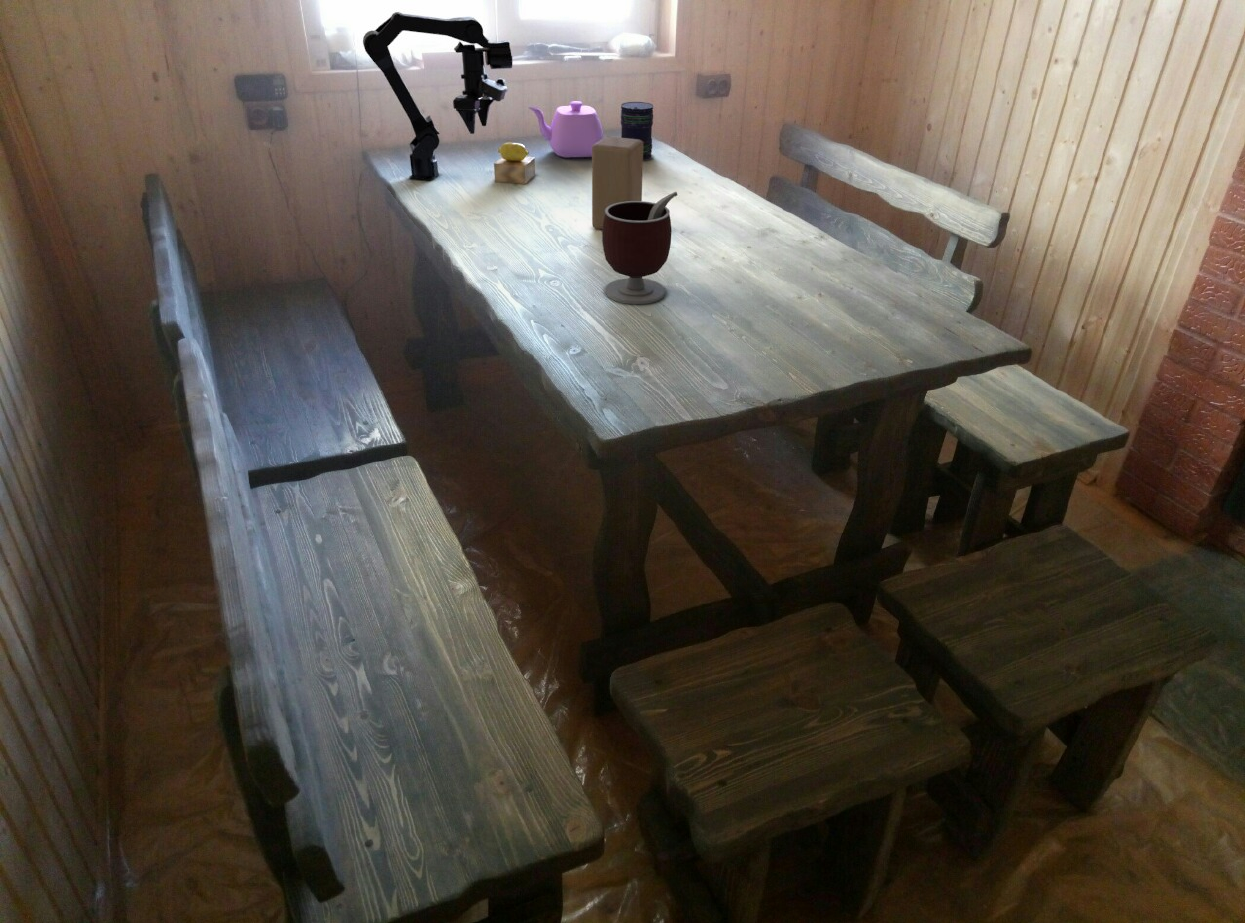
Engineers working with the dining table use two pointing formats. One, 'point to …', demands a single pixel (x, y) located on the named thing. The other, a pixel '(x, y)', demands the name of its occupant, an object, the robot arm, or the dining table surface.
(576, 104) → the teapot
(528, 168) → the maple block
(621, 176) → the block
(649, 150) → the storage jar
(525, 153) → the lemon
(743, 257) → the dining table surface
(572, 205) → the dining table surface
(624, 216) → the mate gourd
